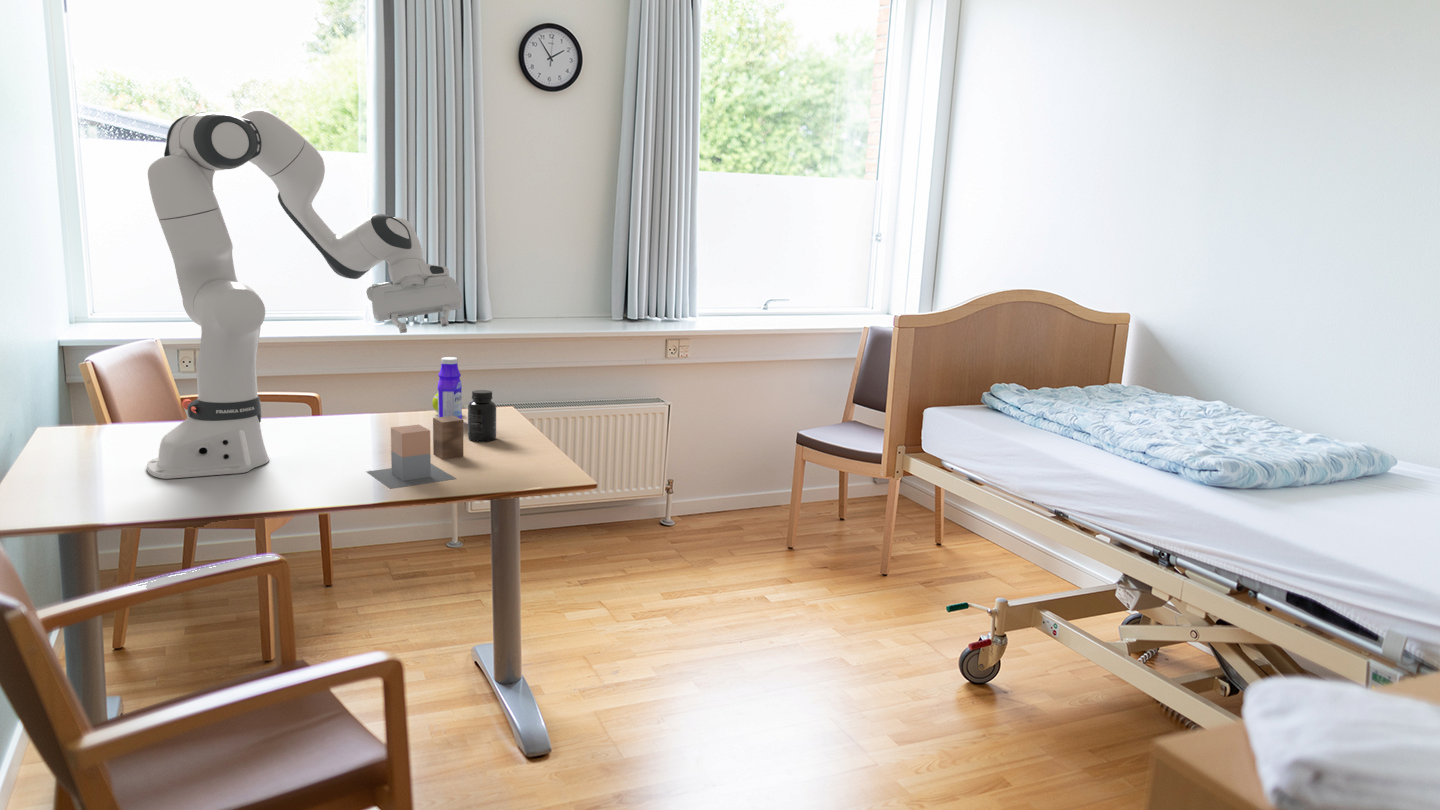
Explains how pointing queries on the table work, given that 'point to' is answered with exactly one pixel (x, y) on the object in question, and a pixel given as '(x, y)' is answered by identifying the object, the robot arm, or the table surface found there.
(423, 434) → the tower top
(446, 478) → the rubber mat
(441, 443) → the walnut post
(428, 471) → the tower bottom
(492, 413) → the supplement bottle
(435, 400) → the tennis ball
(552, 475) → the table surface
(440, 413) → the bottle
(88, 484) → the table surface
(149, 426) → the table surface
